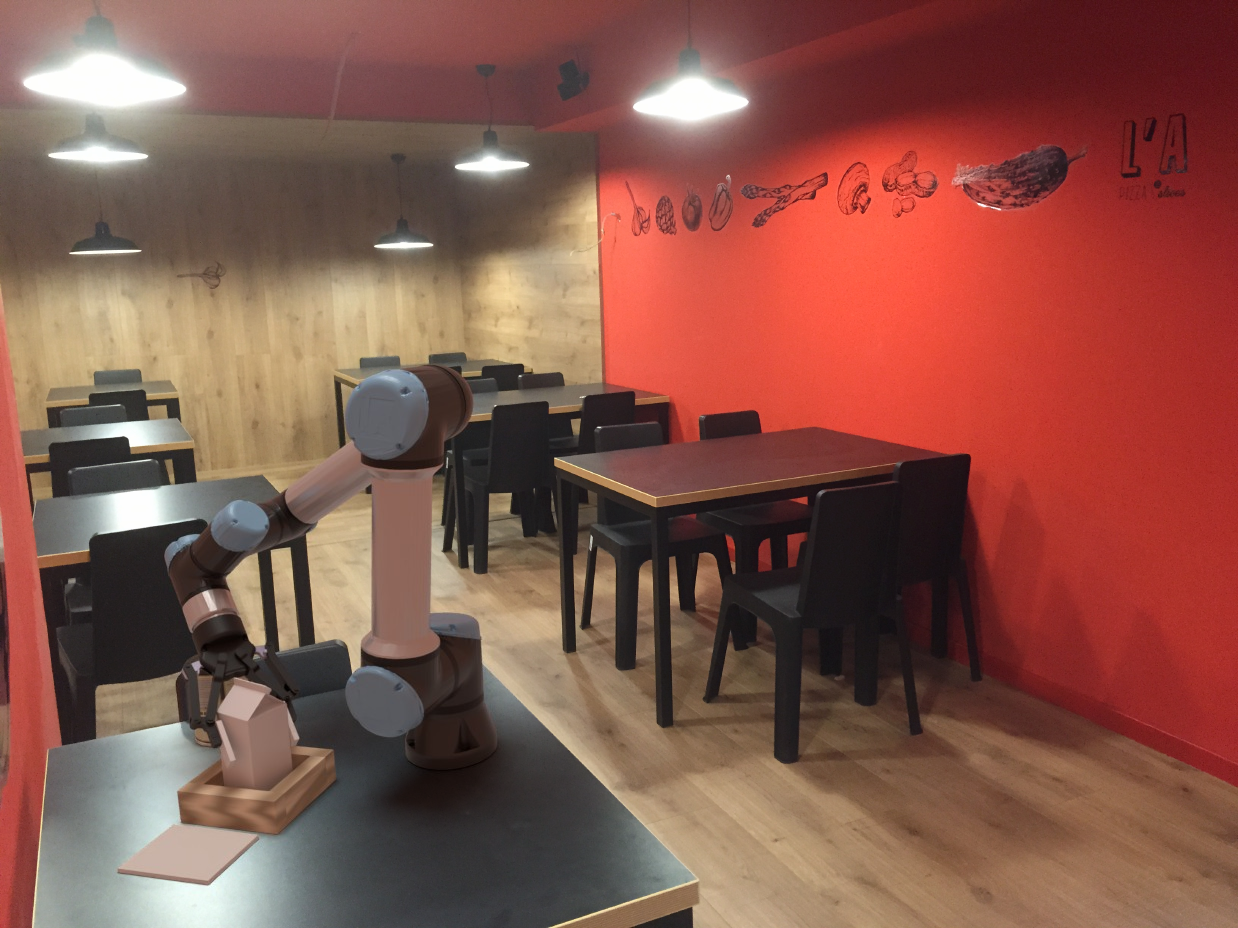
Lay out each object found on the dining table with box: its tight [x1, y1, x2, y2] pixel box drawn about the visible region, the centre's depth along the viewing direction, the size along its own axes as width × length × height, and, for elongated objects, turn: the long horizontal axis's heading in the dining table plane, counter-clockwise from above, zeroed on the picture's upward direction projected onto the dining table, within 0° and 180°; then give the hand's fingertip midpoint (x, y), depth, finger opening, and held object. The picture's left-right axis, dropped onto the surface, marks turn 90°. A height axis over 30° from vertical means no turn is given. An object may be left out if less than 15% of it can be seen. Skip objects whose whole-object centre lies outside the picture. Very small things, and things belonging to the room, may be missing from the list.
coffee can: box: [185, 653, 252, 748], centre depth 169 cm, size 10×10×14 cm
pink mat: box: [116, 823, 260, 886], centre depth 133 cm, size 14×11×1 cm
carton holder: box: [176, 745, 337, 835], centre depth 146 cm, size 16×16×5 cm
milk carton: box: [216, 678, 293, 791], centre depth 145 cm, size 7×7×19 cm
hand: (263, 753), depth 143 cm, fingers closed on milk carton, 9 cm apart
